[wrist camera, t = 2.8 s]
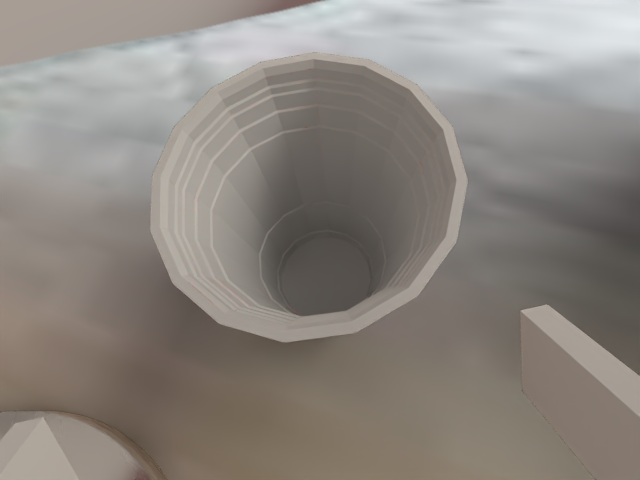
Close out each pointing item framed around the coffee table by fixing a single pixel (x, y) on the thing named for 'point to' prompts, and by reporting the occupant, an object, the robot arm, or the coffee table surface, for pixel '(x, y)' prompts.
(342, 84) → the plastic cup
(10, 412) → the disc
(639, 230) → the coffee table surface
